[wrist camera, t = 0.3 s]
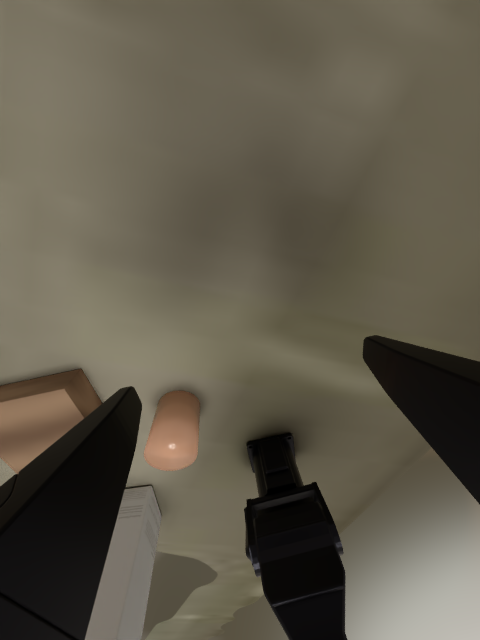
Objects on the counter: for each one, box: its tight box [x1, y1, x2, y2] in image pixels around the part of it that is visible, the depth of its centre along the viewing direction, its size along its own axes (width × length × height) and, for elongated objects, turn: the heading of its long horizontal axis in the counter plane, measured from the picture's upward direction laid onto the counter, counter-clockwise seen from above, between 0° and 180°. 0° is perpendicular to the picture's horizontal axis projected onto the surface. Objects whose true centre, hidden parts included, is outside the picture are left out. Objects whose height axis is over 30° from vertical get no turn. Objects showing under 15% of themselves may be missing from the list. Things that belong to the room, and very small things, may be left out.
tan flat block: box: [0, 369, 102, 474], centre depth 24 cm, size 10×10×3 cm
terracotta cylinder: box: [144, 391, 200, 471], centre depth 24 cm, size 5×5×6 cm
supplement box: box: [85, 486, 161, 640], centre depth 27 cm, size 9×9×15 cm
